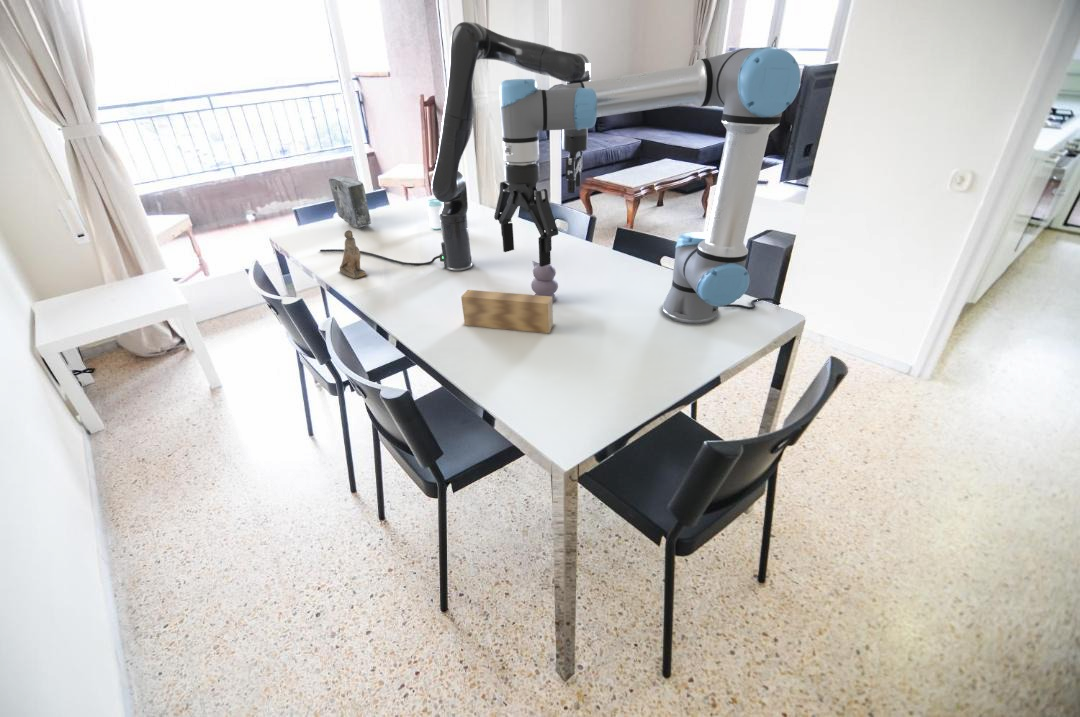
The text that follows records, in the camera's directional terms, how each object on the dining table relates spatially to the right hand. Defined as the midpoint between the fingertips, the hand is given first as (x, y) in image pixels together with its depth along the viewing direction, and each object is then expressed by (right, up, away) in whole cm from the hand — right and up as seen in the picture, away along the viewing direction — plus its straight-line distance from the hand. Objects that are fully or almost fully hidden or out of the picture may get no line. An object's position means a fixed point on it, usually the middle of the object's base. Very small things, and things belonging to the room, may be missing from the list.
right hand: (526, 257), depth 117 cm
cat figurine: (+5, -6, +37) cm, 38 cm away
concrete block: (-82, +38, +114) cm, 146 cm away
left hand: (+14, +29, +38) cm, 50 cm away
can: (-42, +35, +106) cm, 120 cm away
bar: (-6, -14, +23) cm, 28 cm away
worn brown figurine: (-64, +7, +62) cm, 89 cm away
